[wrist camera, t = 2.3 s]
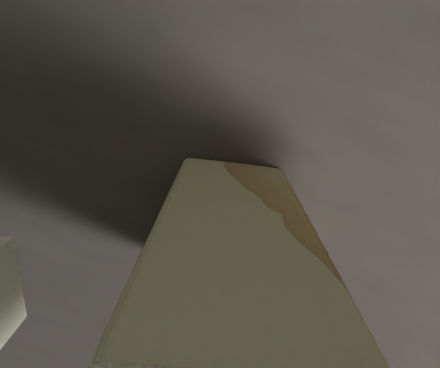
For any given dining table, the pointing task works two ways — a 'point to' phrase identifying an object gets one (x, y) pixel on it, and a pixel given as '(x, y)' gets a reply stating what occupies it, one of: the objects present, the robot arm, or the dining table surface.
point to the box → (235, 283)
